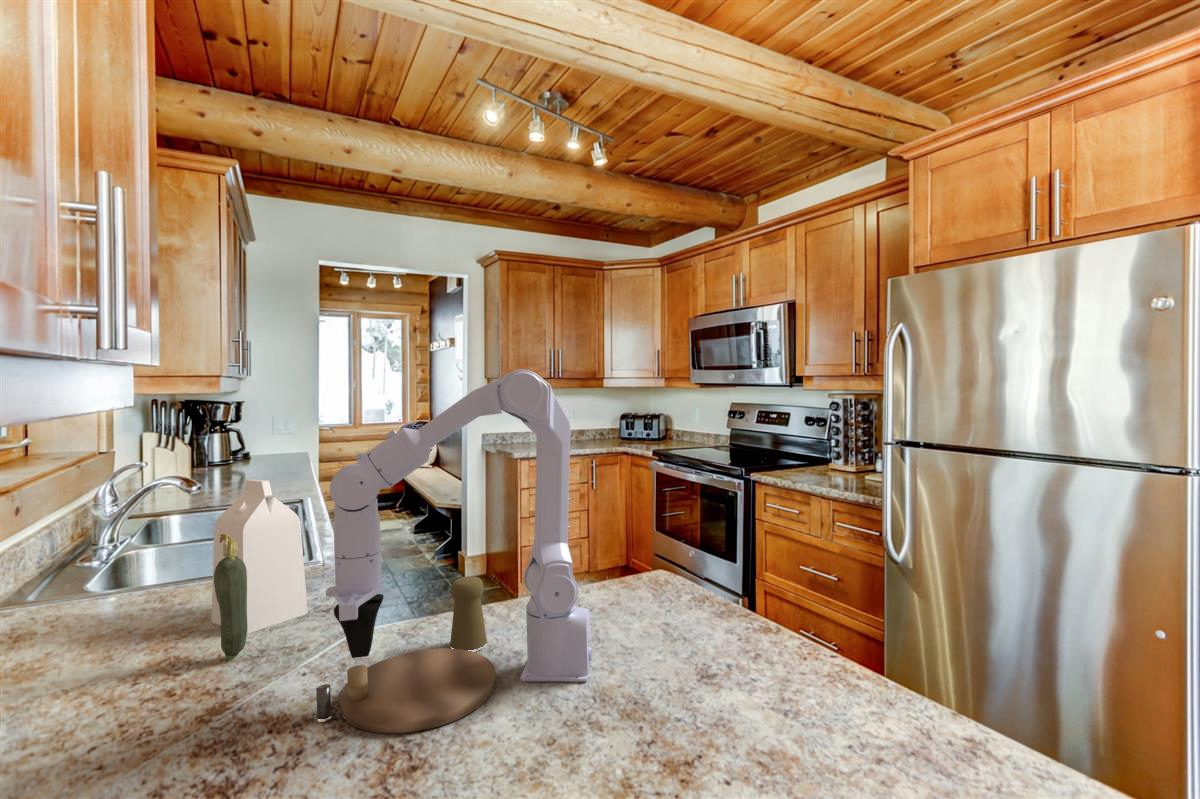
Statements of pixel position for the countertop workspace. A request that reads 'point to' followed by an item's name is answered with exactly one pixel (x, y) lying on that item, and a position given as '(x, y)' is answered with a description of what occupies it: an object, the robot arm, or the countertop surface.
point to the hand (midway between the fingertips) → (360, 655)
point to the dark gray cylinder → (323, 701)
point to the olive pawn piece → (467, 614)
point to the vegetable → (231, 598)
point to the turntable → (416, 690)
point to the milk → (264, 556)
